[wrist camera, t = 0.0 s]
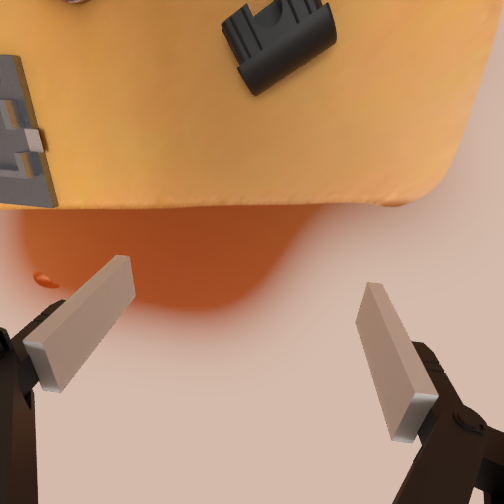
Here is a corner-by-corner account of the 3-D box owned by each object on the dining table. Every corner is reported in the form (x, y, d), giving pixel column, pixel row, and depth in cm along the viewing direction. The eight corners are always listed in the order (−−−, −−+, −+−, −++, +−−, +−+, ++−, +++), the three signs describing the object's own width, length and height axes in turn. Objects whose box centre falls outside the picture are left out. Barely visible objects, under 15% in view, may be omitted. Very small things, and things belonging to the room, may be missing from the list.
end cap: (257, 97, 37) (251, 97, 31) (227, 38, 34) (214, 26, 28) (332, 47, 34) (341, 36, 28) (305, -21, 31) (309, -50, 25)
